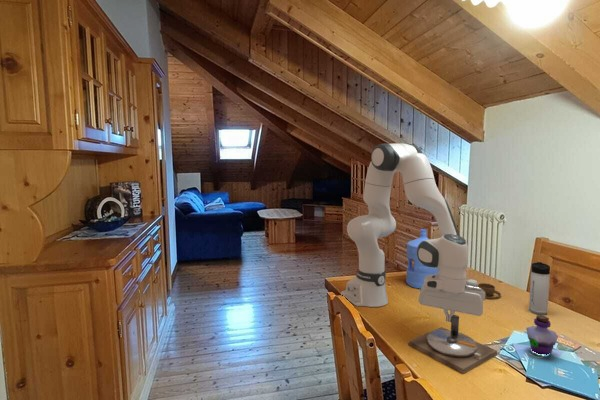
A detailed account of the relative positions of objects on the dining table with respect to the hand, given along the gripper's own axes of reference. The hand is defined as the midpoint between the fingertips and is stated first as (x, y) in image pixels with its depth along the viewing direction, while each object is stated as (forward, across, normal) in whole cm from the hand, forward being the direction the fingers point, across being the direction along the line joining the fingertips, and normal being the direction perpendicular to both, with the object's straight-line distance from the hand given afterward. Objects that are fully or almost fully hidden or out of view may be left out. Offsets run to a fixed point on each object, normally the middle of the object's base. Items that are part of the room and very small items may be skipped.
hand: (448, 321), depth 123 cm
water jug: (+10, +16, -54) cm, 57 cm away
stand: (+6, -2, +7) cm, 10 cm away
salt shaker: (+8, -6, -30) cm, 31 cm away
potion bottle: (+6, -27, -4) cm, 28 cm away
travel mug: (+7, -31, -40) cm, 51 cm away
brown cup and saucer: (+9, -8, -50) cm, 52 cm away
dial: (+5, -2, +7) cm, 8 cm away
